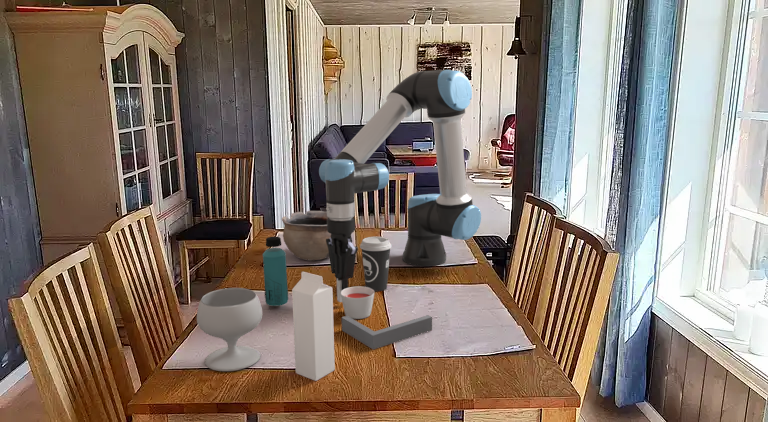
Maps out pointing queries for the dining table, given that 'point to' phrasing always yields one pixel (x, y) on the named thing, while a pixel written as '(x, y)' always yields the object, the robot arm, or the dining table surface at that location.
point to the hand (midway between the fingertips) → (342, 300)
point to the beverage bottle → (275, 273)
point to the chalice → (230, 326)
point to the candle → (357, 301)
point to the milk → (313, 327)
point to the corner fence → (385, 331)
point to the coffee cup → (376, 262)
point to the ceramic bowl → (307, 234)
